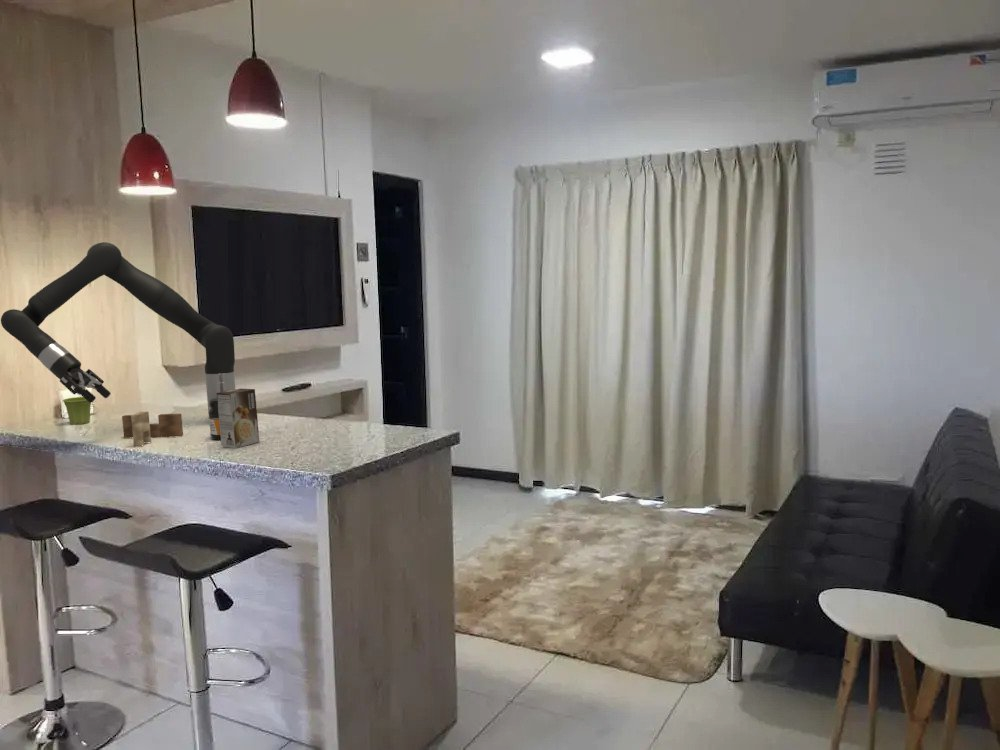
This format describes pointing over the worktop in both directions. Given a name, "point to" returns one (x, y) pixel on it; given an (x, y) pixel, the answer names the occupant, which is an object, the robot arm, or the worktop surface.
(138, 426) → the wooden arch block
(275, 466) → the worktop surface
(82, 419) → the plant pot
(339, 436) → the worktop surface
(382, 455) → the worktop surface
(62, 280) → the robot arm
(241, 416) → the coffee box
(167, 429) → the walnut board
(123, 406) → the worktop surface
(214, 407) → the supplement container
